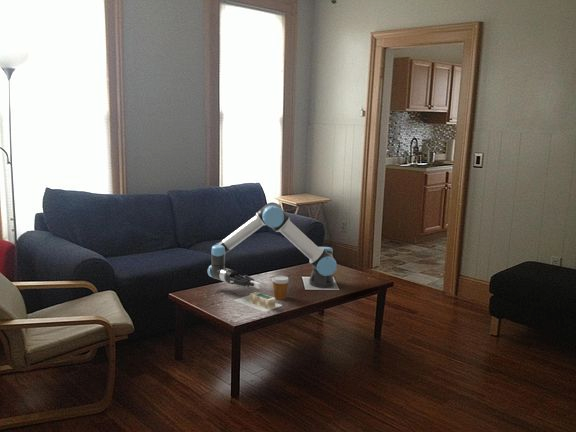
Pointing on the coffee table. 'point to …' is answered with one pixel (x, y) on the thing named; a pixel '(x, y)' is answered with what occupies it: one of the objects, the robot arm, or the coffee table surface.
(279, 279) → the disposable coffee cup
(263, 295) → the block
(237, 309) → the coffee table surface
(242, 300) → the mat
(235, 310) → the coffee table surface
